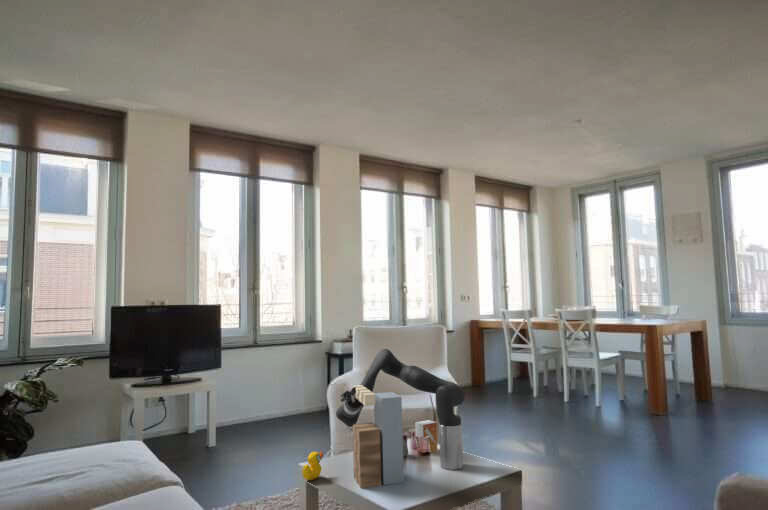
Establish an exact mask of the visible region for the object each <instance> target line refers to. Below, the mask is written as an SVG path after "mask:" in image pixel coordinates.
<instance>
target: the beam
mask: <svg viewBox="0 0 768 510" xmlns="http://www.w3.org/2000/svg"><path fill="white" fill-rule="evenodd" d="M354 387H356V388H355V389H356V393H355V395H354V397H355V398H357V399H358V400H359V401H360V402H361V403H362V404H364V407H367V406H369V407H370V406H374V405H375V394H374V391H373V392H371V391H370V390H368V389H367V388H366V387H364V386H363V385H360V384H358V385H352V388H354Z"/></svg>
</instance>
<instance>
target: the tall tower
mask: <svg viewBox="0 0 768 510" xmlns="http://www.w3.org/2000/svg"><path fill="white" fill-rule="evenodd" d="M373 393H374V392H373ZM374 394H375V405H373V407H374V408H373V409H374V411H373V412H374V425H375V426H376V427H378V428H379V429H380V455H381V484H382V485H383V486H388V485H394V484H403V483H405V473H404V472H405V471H404V456H403V439H404V438H403V437H404V436H403V403H402V396H401V395H398V394H397V393H395V392H393V391H389V392H375V393H374Z"/></svg>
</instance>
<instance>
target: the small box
mask: <svg viewBox="0 0 768 510" xmlns="http://www.w3.org/2000/svg"><path fill="white" fill-rule="evenodd" d="M437 424H438V423H437V421H433V420H430V419H427V420H421V421H416V422H415V425H414V427H415V429H414V431H415V434H417V435H419V436H422V437H423V438H424V437H426V436H429V435H430V436H429V437H430V438H429V439H430V443H429V444H430V451H431V452H430V453H435V452H438V433H437V431H438V430H437Z"/></svg>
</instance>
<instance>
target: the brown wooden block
mask: <svg viewBox="0 0 768 510" xmlns="http://www.w3.org/2000/svg"><path fill="white" fill-rule="evenodd" d="M352 444H353V445H352V448H353V449H352V452H353V479H354V478H355V479H354V480H355V482H356V481H357V482H356V484H357V485H358V484H359V485H358V487H359V488H360V489H363V488H364V487H365V488H371V487H372V486H373V487H379V486H380V485H381V486H382V482H381V455H380V429H379V428H378V427H376V426H375V423H374V422H364V423H356V424H353V427H352ZM373 487H372V488H373Z"/></svg>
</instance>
